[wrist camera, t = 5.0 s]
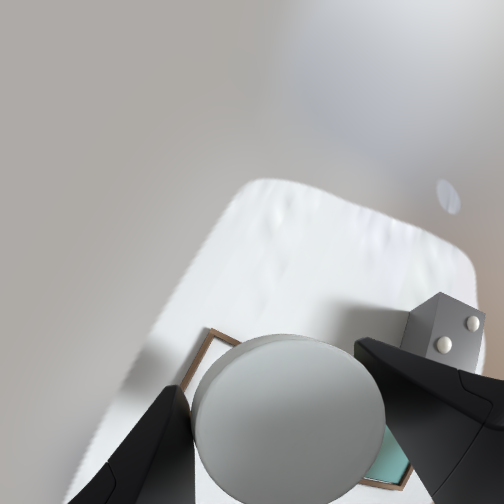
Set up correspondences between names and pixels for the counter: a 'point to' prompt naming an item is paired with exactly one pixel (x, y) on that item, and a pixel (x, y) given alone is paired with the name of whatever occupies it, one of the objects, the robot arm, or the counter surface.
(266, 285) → the counter surface
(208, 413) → the supplement bottle
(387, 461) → the board
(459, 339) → the die
